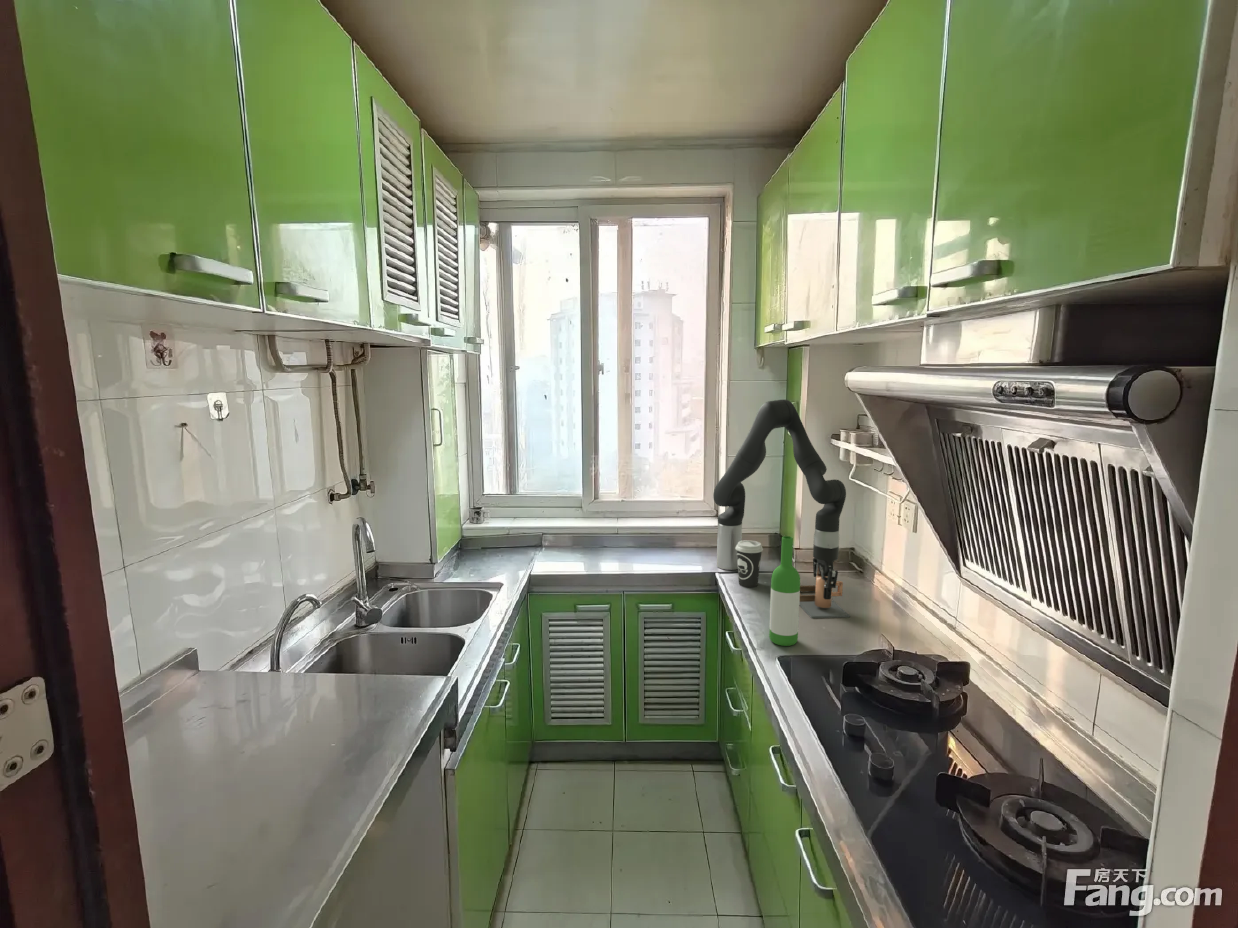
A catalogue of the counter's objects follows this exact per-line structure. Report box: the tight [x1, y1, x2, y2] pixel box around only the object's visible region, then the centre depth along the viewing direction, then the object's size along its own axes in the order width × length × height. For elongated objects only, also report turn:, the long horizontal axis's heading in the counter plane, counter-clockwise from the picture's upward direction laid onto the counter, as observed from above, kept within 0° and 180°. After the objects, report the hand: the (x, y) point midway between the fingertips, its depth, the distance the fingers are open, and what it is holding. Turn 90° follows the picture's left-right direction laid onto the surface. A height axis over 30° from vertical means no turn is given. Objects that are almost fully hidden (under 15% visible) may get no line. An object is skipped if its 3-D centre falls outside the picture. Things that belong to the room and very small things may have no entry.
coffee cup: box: [735, 539, 764, 588], centre depth 214 cm, size 10×10×15 cm
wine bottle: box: [768, 535, 801, 647], centre depth 168 cm, size 8×8×30 cm
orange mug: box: [814, 575, 844, 608], centre depth 191 cm, size 8×5×9 cm, turn 94°
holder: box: [799, 584, 816, 602], centre depth 204 cm, size 10×10×2 cm
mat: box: [799, 600, 851, 619], centre depth 192 cm, size 12×12×1 cm
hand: (823, 595), depth 191 cm, fingers open, 5 cm apart
